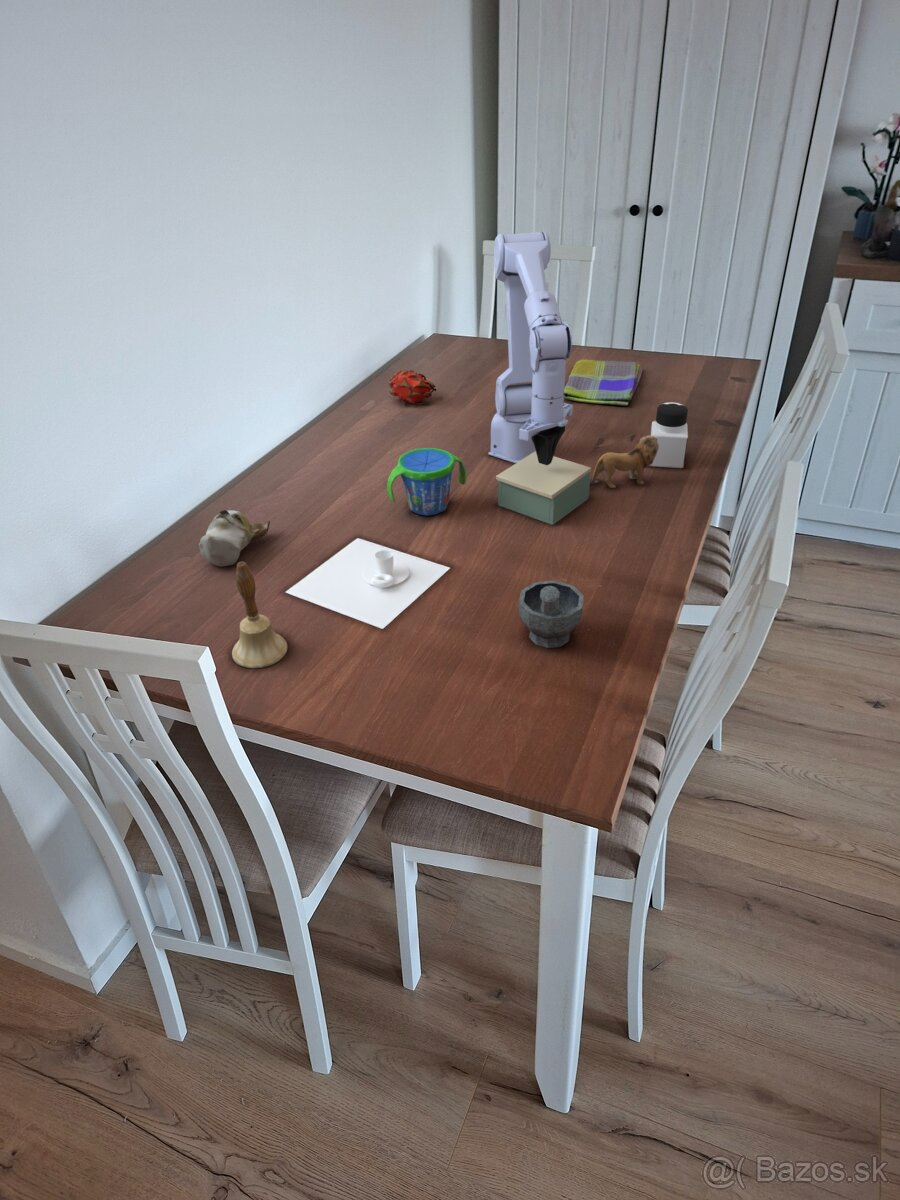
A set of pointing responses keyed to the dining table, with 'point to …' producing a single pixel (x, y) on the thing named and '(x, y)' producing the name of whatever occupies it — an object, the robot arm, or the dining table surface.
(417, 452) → the snack cup
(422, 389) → the dragon fruit
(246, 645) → the hand bell
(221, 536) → the ceramic sculpture
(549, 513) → the box
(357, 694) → the dining table surface
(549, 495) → the lid
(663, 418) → the medicine bottle
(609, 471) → the lion figurine
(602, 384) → the dish towel
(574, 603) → the mortar and pestle
